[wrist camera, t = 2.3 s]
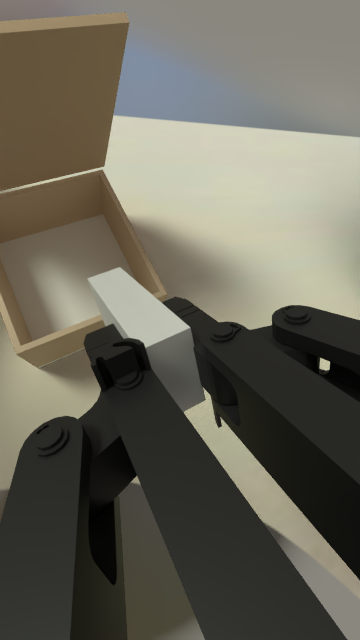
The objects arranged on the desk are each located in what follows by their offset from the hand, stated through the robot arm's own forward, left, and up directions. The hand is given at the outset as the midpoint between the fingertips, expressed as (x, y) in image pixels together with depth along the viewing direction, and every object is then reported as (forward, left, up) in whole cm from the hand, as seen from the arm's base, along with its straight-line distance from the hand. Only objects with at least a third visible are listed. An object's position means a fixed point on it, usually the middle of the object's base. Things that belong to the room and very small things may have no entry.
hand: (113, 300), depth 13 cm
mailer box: (0, +14, -25) cm, 29 cm away
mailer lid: (0, +20, -8) cm, 21 cm away
